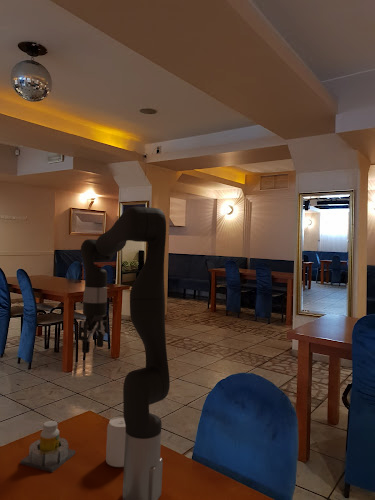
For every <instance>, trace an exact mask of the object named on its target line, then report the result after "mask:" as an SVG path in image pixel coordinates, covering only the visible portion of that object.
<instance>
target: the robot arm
mask: <svg viewBox="0 0 375 500" xmlns="http://www.w3.org/2000/svg"><path fill="white" fill-rule="evenodd" d="M166 237H167V221H166V215H165V212H164V211H163V210H162V209H161V208H159V207H149V206H131V207H127V208H126V209H125V210H124V211H123V212H122V213H121V215H120V216H119V217H118V219H117V220H116V221H115V222H114V224H113V225H112V226H111V227H110V228H109V229H108V230H106V231H105V232H103V233H102V234H101V235H100V236H98V237H97V239H92V238H91V239H89V238H88V239H85V240H84V241H83V242H82V243H81V245H80V254H81V258H82V263H83V267H84V274H85V275H84V290H83V297H82V298H83V302H82V303H83V304H82V314H83V315H84V316H85V320H79V323H78V335H77V340H79V341H81V342H82V343H81V344H82V347H81V352H82V353H83V354H89V353H90V348H91V347H90V343H91V342H90V341H91V338H92V336H94V334H95V333H96V348H103V347H104V340H105V339H104V338H105V337H104V336H106V334H107V333H108V331H109V316H108V315H107V307H108V306H107V305H108V289H107V288H108V286H107V285H108V272H107V270H106V269H104V268H101V267H97V266H96V264H95V262H108V261H111V260H112V259H113V257H114V255H116V253H118V252H120V251H121V250H123V249H124V247H125V246H126V244H127V242H128V241H129V242H130V241H132V242H136V243H137V242H139V243H145V242H146V245H147V248H146V249H147V250H146V256H145V261H144V264H143V265H142V268H141V269H140V271H139V273H138V274H137V276H136V278H135V280H134V282H133V284H132V286H131V289H130V292H129V316H130V320H131V323H132V325H133V327H134V329H135V331H136V332H137V334H138V336H139V338H140V339H141V341H142V344H143V346H144V352H145V367H142V368H138V369H134V370H131V371H129V372H128V373H127V374H126V376H125V377H124V380H123V381H124V382H123V387H122V388H123V391H122V392H123V393H122V397H123V400H122V402H123V403H122V405H123V406H122V407H123V409H122V410H123V411H122V412H123V414H122V416H123V417H124V421H125V425H126V431H125V452H124V467H123V479H122V480H123V481H122V500H159V498H160V497H161V495H162V488H163V487H162V486H163V485H162V483H163V458H162V457H161V443H162V441H161V440H162V427H163V426H162V419H161V418H160V417H159V415H156V414H155V413H154V414H153V413H150V405H153V404H155V403H159V402H160V401H164V400H165V399H166V397H167V396H168V395H169V392H170V385H171V384H170V382H171V381H170V371H169V370H170V369H169V363H168V362H169V361H168V354H167V341H166V293H165V292H166V291H165V254H166V239H167V238H166Z"/></svg>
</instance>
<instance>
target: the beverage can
mask: <svg viewBox="0 0 375 500" xmlns="http://www.w3.org/2000/svg"><path fill="white" fill-rule="evenodd" d="M125 431H126V425H125V421H124V416H116V417H113V418H111V419H109V422H108V424H107V430H106V448H105V449H106V451H105V462H106V463H107V465H109V466H111V467H115V468H124V452H125Z"/></svg>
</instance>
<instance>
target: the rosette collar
mask: <svg viewBox="0 0 375 500" xmlns="http://www.w3.org/2000/svg"><path fill="white" fill-rule="evenodd" d="M28 450H29V453H28V454H27V456H25V457H24V458H22V459H20V465H23V466H27V467H31V468H35V469H38V470H42V471H45V472H50V473H53V472H55V471H56V470H57V469H59V468H60V467H61V466H62V465H64V464H65V463H66V462H67V461H68V460H69V459H71V458H72V457H74V455H75V454H76V450H74V449H71V448H69V443H68V440H67V439H65V438H64V437H60V436H59V448H57V449H56V450H52V451H41V450H40V439H37V440H35V441H34V442H32V443H31V444H30V445H29V449H28Z"/></svg>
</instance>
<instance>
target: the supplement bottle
mask: <svg viewBox="0 0 375 500" xmlns="http://www.w3.org/2000/svg"><path fill="white" fill-rule="evenodd" d="M58 427H59V426H58V421H56V420H49V421H45V422H44V423H43V426H42V428H43V429H42V431H41V433H40V434H39V435H40V436H39V437H40V439H39V440H40V450H41V451H52V450H56V449H57V448H59V437H60V430H59V429H58Z"/></svg>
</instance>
